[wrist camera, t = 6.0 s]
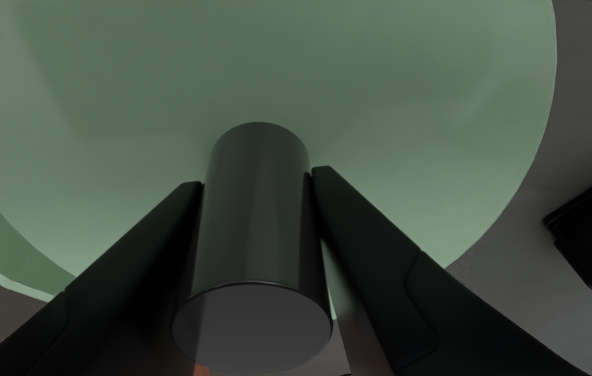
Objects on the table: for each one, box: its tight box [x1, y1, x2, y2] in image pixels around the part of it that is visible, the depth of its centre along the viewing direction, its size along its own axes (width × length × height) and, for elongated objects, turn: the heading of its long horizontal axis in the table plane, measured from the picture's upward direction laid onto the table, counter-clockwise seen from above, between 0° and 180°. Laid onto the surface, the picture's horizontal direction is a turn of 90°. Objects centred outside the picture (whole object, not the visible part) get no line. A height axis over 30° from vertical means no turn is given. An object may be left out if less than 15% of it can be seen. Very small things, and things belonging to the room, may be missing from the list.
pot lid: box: [0, 0, 557, 375], centre depth 8 cm, size 14×14×6 cm
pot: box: [0, 213, 76, 302], centre depth 21 cm, size 13×18×5 cm
